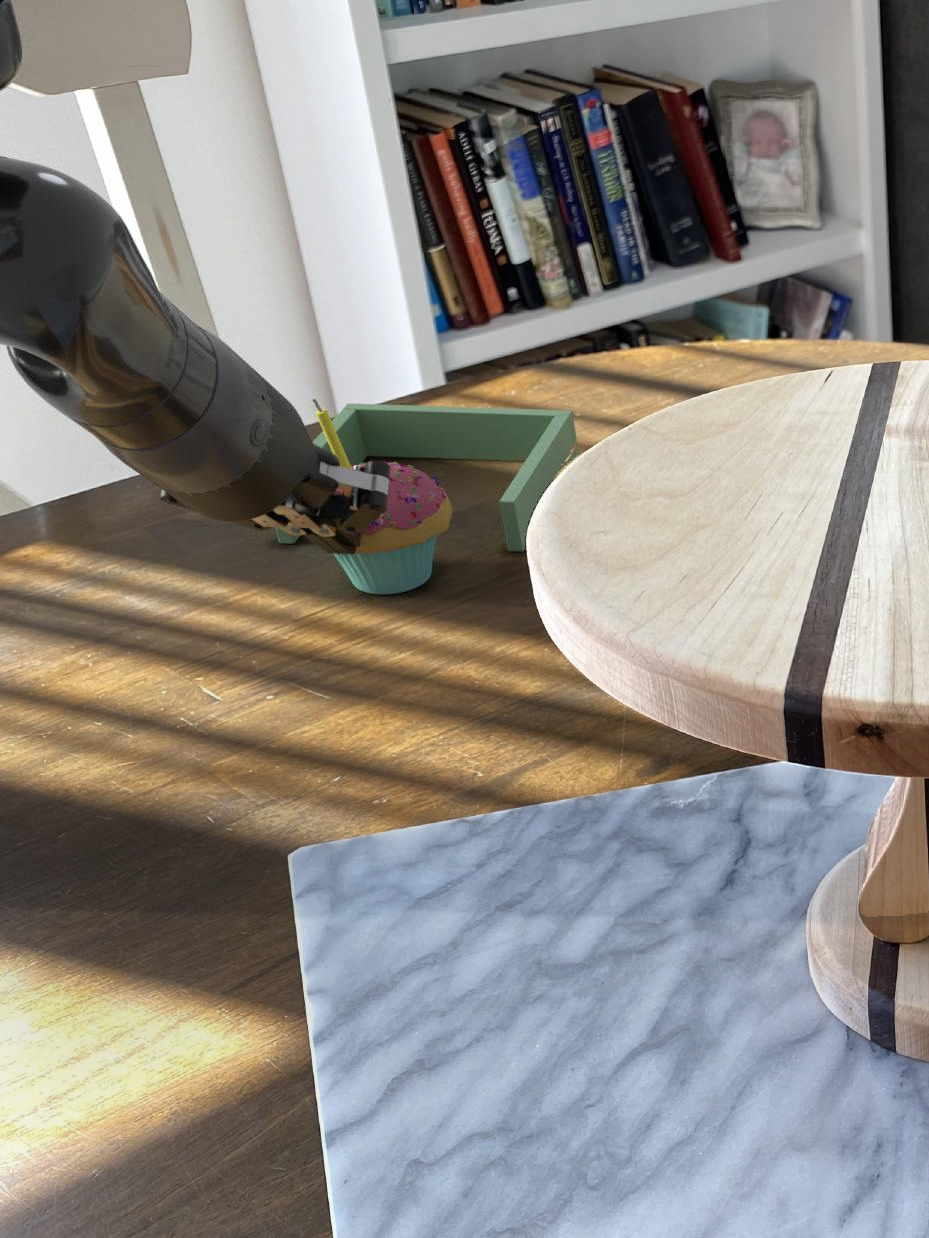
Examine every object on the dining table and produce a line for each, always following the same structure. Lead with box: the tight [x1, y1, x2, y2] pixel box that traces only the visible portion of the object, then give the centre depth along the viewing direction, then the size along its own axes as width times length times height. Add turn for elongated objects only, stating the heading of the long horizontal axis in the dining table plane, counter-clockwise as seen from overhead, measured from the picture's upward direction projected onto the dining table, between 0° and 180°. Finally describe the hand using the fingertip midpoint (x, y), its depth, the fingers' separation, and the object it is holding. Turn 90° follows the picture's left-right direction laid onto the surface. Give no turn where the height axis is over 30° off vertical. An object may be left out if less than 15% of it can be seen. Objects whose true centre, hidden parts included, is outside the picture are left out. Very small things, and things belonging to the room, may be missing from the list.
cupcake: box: [311, 398, 453, 596], centre depth 102 cm, size 9×8×12 cm
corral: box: [274, 402, 580, 553], centre depth 114 cm, size 15×16×4 cm
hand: (344, 538), depth 100 cm, fingers closed
